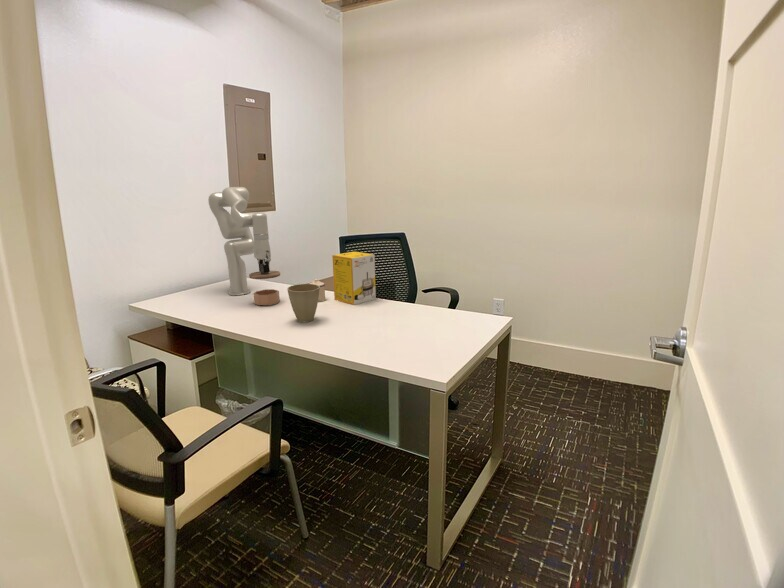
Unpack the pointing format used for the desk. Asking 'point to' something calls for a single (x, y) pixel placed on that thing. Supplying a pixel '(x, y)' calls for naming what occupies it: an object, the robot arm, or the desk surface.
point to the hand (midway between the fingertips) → (264, 271)
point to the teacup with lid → (322, 289)
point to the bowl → (266, 297)
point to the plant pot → (304, 300)
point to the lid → (264, 274)
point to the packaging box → (354, 277)
